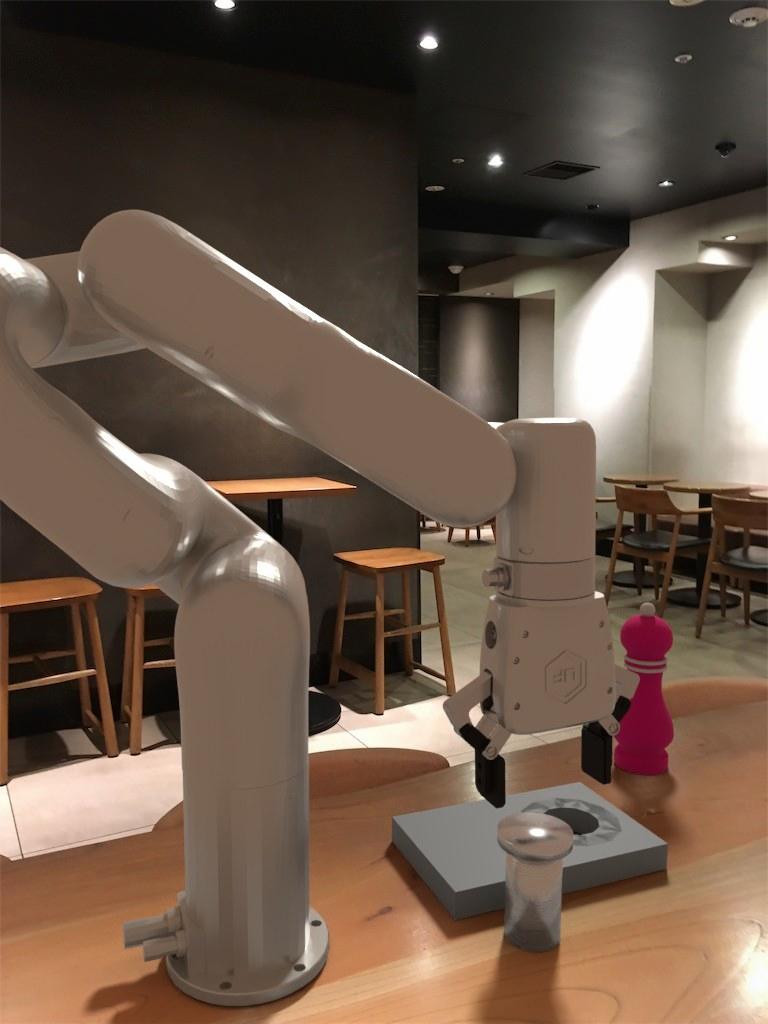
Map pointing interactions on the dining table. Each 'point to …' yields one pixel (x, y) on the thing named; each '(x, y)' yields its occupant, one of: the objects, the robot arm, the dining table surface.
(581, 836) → the plate
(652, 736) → the pepper mill
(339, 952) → the dining table surface
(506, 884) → the grey cylindrical piece
